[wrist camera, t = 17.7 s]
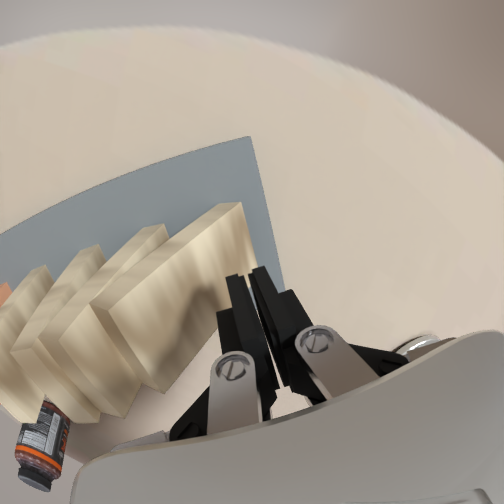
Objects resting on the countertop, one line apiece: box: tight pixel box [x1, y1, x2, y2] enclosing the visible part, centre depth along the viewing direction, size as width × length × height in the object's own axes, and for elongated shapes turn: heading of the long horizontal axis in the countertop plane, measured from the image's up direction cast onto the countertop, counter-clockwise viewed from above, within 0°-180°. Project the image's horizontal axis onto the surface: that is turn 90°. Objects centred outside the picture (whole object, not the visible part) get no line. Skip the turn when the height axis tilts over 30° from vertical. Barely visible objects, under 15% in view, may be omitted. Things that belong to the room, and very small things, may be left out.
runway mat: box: [0, 136, 285, 310], centre depth 18 cm, size 12×24×1 cm, turn 103°
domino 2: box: [10, 244, 107, 423], centre depth 13 cm, size 5×2×10 cm, turn 13°
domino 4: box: [89, 202, 258, 394], centre depth 14 cm, size 5×2×10 cm
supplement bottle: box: [15, 401, 70, 492], centre depth 19 cm, size 6×6×11 cm
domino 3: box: [38, 223, 170, 419], centre depth 13 cm, size 5×2×10 cm, turn 14°
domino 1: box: [0, 264, 55, 423], centre depth 13 cm, size 5×2×10 cm, turn 13°
